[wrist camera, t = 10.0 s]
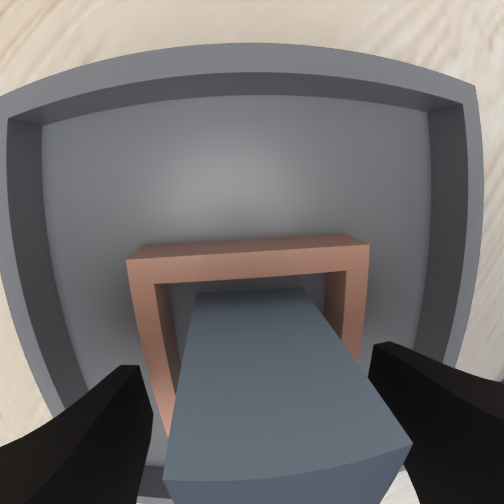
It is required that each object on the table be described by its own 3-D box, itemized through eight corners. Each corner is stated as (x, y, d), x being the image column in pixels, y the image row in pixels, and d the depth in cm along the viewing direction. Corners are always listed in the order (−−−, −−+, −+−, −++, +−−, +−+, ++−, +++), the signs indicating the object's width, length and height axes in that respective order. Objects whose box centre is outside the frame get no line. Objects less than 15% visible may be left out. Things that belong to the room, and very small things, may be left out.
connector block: (298, 372, 12) (361, 529, 5) (206, 378, 12) (201, 551, 4) (302, 287, 11) (413, 443, 4) (196, 293, 11) (162, 479, 3)
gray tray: (392, 437, 15) (411, 467, 12) (115, 463, 14) (106, 497, 11) (433, 97, 11) (474, 85, 8) (33, 111, 9) (-8, 100, 6)
